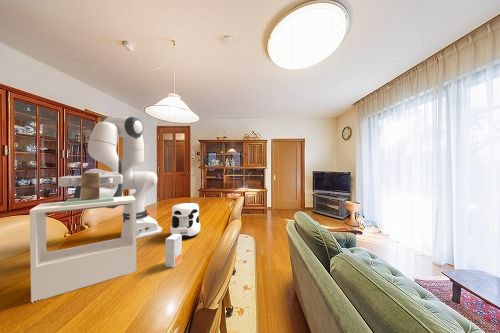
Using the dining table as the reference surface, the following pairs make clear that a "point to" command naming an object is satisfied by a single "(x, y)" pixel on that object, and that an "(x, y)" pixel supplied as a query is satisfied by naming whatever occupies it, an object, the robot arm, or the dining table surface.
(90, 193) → the walnut block
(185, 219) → the milk container
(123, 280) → the dining table surface
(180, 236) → the skincare box
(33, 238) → the box
